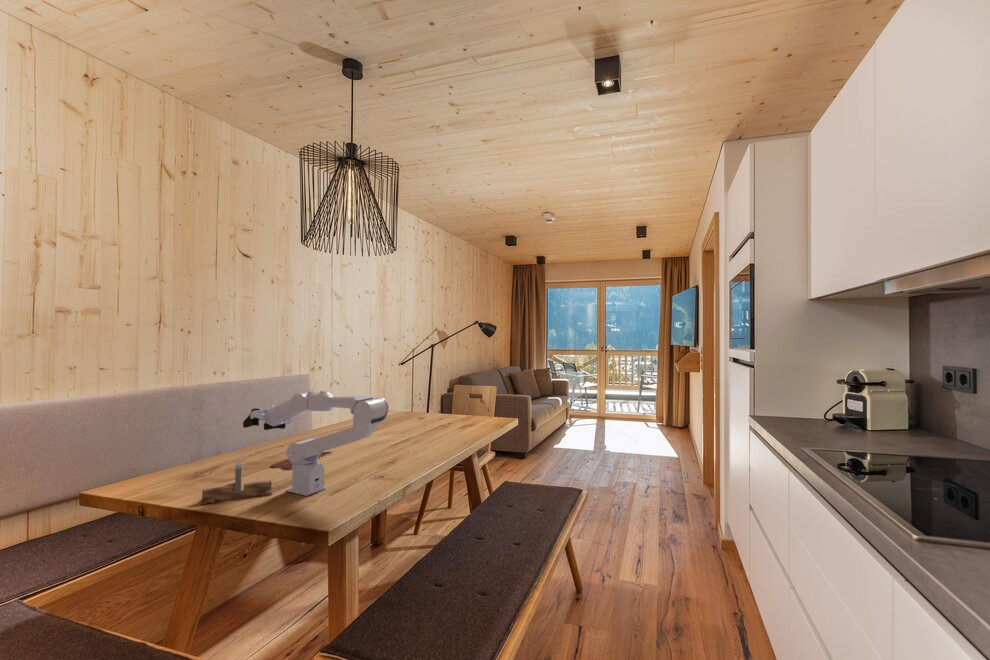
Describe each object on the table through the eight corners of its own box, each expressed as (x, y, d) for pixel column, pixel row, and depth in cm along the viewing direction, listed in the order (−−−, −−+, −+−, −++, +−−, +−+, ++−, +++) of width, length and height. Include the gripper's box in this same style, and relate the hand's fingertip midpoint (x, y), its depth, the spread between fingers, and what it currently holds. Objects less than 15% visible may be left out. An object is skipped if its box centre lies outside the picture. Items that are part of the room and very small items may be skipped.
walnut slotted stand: (270, 489, 142) (270, 478, 143) (271, 494, 138) (271, 483, 138) (202, 499, 134) (203, 487, 134) (201, 505, 129) (201, 492, 129)
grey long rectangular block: (240, 491, 141) (241, 468, 141) (234, 491, 140) (235, 469, 140) (240, 481, 150) (241, 460, 150) (235, 482, 149) (235, 461, 149)
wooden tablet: (290, 472, 163) (290, 467, 163) (267, 469, 166) (267, 465, 166) (336, 453, 188) (336, 449, 188) (316, 451, 191) (316, 447, 191)
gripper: (301, 403, 154) (272, 417, 158) (263, 396, 142) (234, 411, 146) (302, 423, 151) (273, 436, 155) (264, 417, 139) (234, 432, 143)
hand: (254, 425), depth 151 cm, fingers open, 7 cm apart
